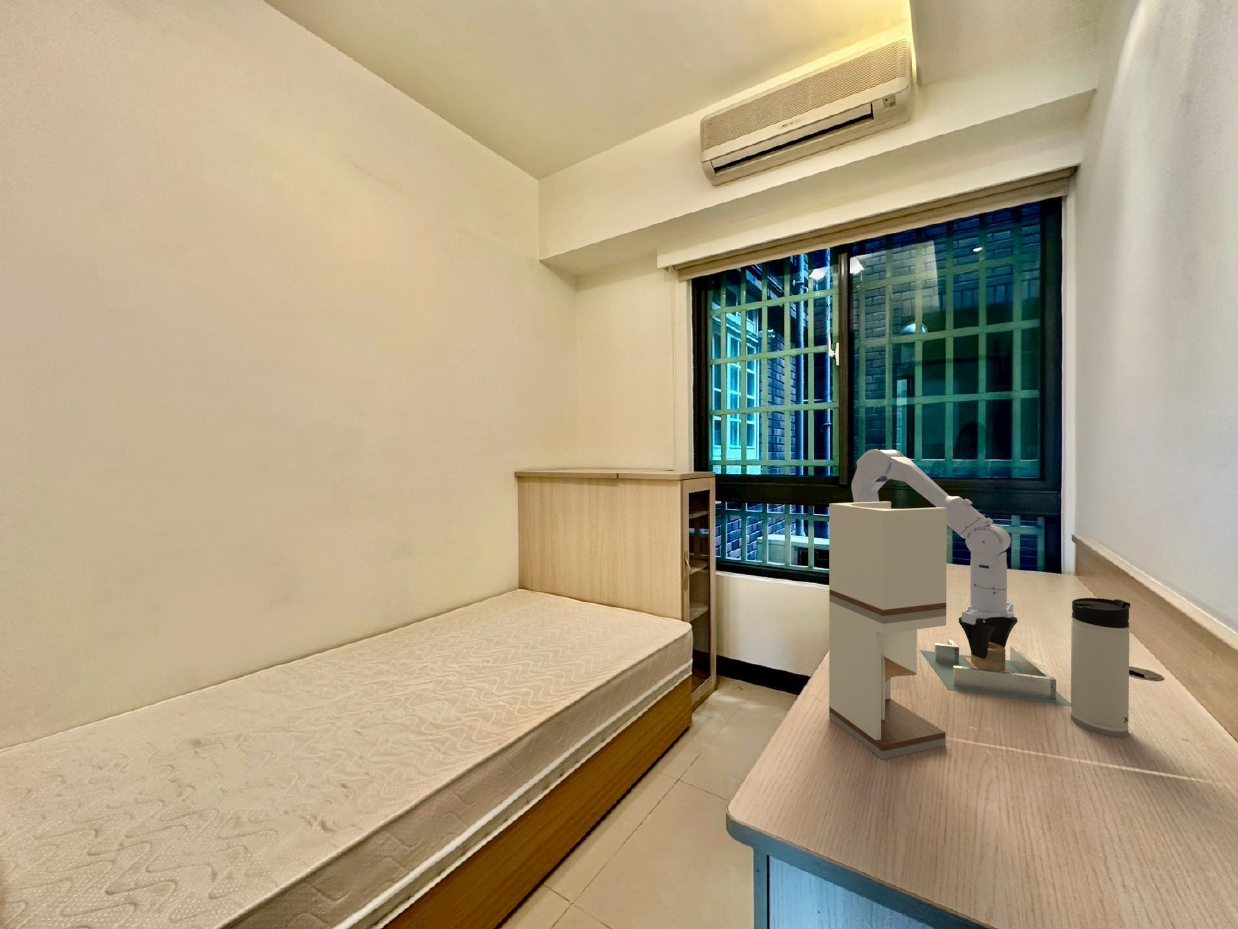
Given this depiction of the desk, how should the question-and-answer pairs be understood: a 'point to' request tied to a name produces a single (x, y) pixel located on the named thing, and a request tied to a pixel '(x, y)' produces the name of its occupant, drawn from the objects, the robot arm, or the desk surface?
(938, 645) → the metal walled tray
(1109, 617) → the travel mug
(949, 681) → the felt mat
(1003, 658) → the oak ring
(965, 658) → the pad
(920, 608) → the cream shelf tower
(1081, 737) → the desk surface
